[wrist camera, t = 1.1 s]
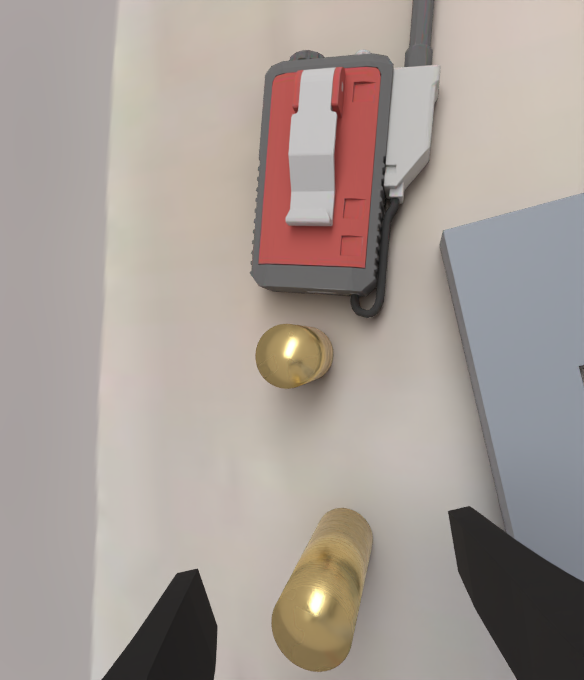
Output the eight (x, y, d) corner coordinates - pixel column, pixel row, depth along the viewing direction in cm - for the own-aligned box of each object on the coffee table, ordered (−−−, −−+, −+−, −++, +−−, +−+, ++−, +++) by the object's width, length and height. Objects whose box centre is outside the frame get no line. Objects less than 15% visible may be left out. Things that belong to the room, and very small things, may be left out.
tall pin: (378, 562, 23) (360, 670, 16) (323, 566, 24) (280, 672, 16) (365, 504, 24) (342, 585, 16) (312, 511, 24) (264, 590, 17)
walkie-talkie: (418, 322, 23) (451, -65, 23) (419, 318, 19) (460, -158, 19) (260, 311, 26) (288, -40, 25) (229, 305, 21) (262, -117, 21)
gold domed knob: (338, 375, 24) (323, 382, 20) (286, 385, 25) (262, 393, 21) (326, 321, 24) (310, 317, 20) (275, 333, 25) (250, 331, 21)
